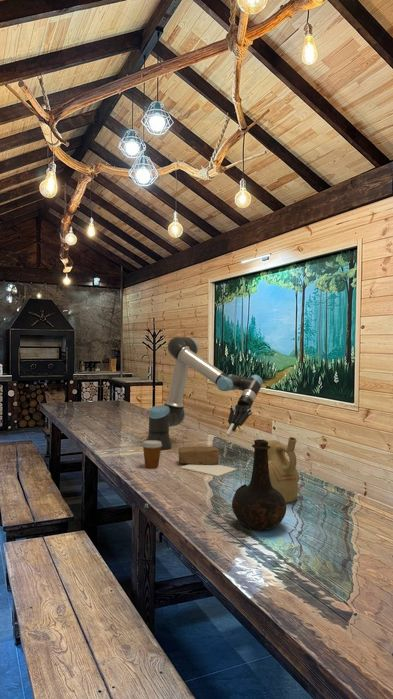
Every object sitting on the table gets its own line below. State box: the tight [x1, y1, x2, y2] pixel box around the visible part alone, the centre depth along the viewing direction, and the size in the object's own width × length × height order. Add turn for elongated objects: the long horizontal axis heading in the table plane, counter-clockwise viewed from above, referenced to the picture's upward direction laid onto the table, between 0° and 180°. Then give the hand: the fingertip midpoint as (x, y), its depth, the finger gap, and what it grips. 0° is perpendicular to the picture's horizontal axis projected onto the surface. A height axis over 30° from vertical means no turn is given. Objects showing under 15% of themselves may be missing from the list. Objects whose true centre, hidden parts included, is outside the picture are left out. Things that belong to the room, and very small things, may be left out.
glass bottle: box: [231, 439, 287, 531], centre depth 148 cm, size 18×18×28 cm
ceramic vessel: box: [268, 436, 300, 504], centre depth 176 cm, size 17×20×25 cm
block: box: [178, 446, 220, 465], centre depth 226 cm, size 11×8×20 cm
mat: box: [179, 463, 238, 478], centre depth 216 cm, size 22×16×1 cm
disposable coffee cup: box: [142, 439, 162, 469], centre depth 217 cm, size 10×10×12 cm
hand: (228, 435), depth 228 cm, fingers closed
